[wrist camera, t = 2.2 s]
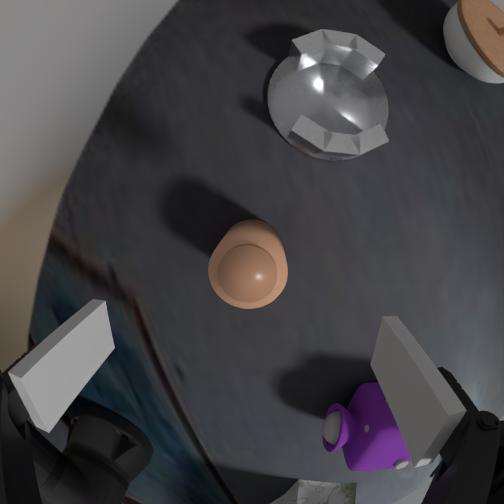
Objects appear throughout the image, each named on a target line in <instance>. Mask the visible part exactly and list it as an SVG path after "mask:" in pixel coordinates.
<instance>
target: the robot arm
mask: <svg viewBox="0 0 504 504" xmlns="http://www.w3.org/2000/svg"><path fill="white" fill-rule="evenodd" d="M114 348H115V347H114V342H113V338H112V333H111V328H110V323H109V318H108V313H107V307H106V301H103V300H95V299H93V300H92V301H90V302H89V303H88V304H87V305H85V306H84V307H83V308H82V309H80V310H79V311H78V312H77V313H75V314H74V315H73V316H72V317H71V318H69V319H68V320H67V321H66V322H65V323H63V324H62V325H61V326H60V327H59V328H57V329H56V330H55V331H54V332H53V333H51V334H50V335H49V336H48V337H47V338H46V339H44V340H43V341H42V342H39V343H37V344H35V345H33V346H32V347H31V348H30V349H29V350H28V351H27V353H24V355H22V356H21V358H19V359H17V360H16V361H15V362H14V363H13V364H12V365H11V366H10V367H9V368H8V369H6V370H5V371H4V372H3V373H1V371H0V504H122V502H123V499H124V497H125V494H126V491H127V489H128V486H129V484H130V483H131V482H132V481H133V480H134V479H135V478H136V477H137V476H138V475H139V474H140V473H141V472H142V471H143V470H144V469H145V468H146V467H147V466H148V464H149V462H150V460H151V457H152V455H153V448H152V445H151V443H150V441H149V440H148V439H147V437H146V436H145V435H144V434H143V433H142V432H141V431H140V430H139V429H138V428H136V427H135V426H134V425H133V424H131V423H130V422H128V421H127V420H125V419H124V418H122V417H120V416H119V415H117V414H115V413H113V412H110V411H108V410H105V409H102V408H99V407H94V406H84V407H81V408H79V409H78V410H77V411H76V413H75V414H74V416H73V417H72V419H71V423H70V428H69V433H68V438H67V444H66V447H65V449H64V450H63V452H62V453H61V452H60V451H59V450H58V449H57V448H56V447H55V446H54V445H52V444H51V443H50V442H49V441H48V440H47V439H46V438H45V437H44V436H43V435H42V434H41V433H40V432H39V431H38V430H37V429H36V428H35V427H34V426H33V425H32V424H31V423H30V422H29V421H28V420H27V419H28V418H29V416H30V417H31V419H32V421H33V422H34V424H35V426H36V427H38V428H40V429H42V430H44V431H46V432H49V433H50V431H51V430H52V428H53V427H54V426H55V424H56V423H57V422H58V420H59V419H60V418H61V416H62V415H63V414H64V412H65V411H66V410H67V408H68V407H69V406H70V404H71V403H72V402H73V400H74V399H75V398H76V396H77V395H78V394H79V392H80V391H81V390H82V389H83V387H84V386H85V385H86V383H87V382H88V381H89V380H90V378H91V377H92V376H93V374H94V373H95V372H96V371H97V369H98V368H99V367H100V366H101V364H102V363H103V362H104V361H105V359H106V358H107V357H108V356H109V354H110V353H111V352H112V351H113V349H114ZM370 365H371V367H372V369H373V371H374V374H375V376H376V378H377V380H378V382H379V385H380V387H381V389H382V391H383V393H384V396H385V398H386V400H387V402H388V405H389V407H390V409H391V412H392V414H393V416H394V419H395V421H396V423H397V426H398V428H399V430H400V433H401V435H402V438H403V440H404V442H405V445H406V447H407V450H408V452H409V455H410V457H411V460H412V463H413V465H414V468H415V467H419V466H422V465H426V464H430V463H432V462H433V461H434V459H435V458H436V457H437V455H438V454H439V453H440V455H441V457H442V459H443V460H442V461H441V462H440V464H439V465H438V466H437V467H436V469H435V470H434V471H433V472H432V474H431V475H430V477H433V475H434V474H435V475H434V478H433V480H432V482H431V485H430V487H429V489H428V491H427V493H426V495H425V498H424V499H423V502H422V503H421V504H504V421H499V419H498V417H496V416H495V415H494V414H493V413H490V412H488V411H478V409H477V408H476V406H475V405H474V403H473V402H472V401H471V399H470V398H469V396H468V395H467V394H466V392H465V391H464V390H463V389H462V387H461V386H460V384H459V383H457V380H456V379H455V378H454V376H453V375H452V374H451V373H450V372H449V371H447V370H446V369H444V368H443V367H439V368H437V367H436V366H435V365H434V363H433V362H432V361H431V359H430V358H429V357H428V355H427V354H426V353H425V351H424V350H423V349H422V347H421V346H420V345H419V344H418V342H417V341H416V340H415V338H414V337H413V336H412V334H411V333H410V332H409V331H408V329H407V328H406V327H405V326H404V324H403V323H402V322H401V321H400V319H399V318H398V317H397V316H382V321H381V325H380V329H379V333H378V338H377V341H376V345H375V349H374V353H373V356H372V360H371V364H370Z"/></svg>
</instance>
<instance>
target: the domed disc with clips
mask: <svg viewBox="0 0 504 504" xmlns="http://www.w3.org/2000/svg"><path fill="white" fill-rule="evenodd" d="M384 56H385V54H384V53H383V52H382V51H380V50H379V49H377V48H376V47H374V46H373V45H372V44H370V43H369V42H367V41H366V40H364V39H363V38H361V37H359V36H358V35H356V34H351V33H345V32H339V31H332V30H325V29H321V30H318V31H315V32H312V33H309V34H306V35H304V36H301V37H298V38H295V39H293V40H292V41H291V47H290V52H289V57H287V58H286V59H285V60H284V61H282V62H281V63H280V65H279V66H278V67H277V68H276V70H275V71H274V73H273V75H272V77H271V80H270V83H269V87H268V95H267V98H268V108H269V113H270V116H271V119H272V121H273V123H274V125H275V127H276V128H277V130H278V131H279V133H280V134H281V135H282V136H283V138H284V139H285V140H286V141H287V142H288V143H289V144H290V145H292V146H293V147H294V148H296V149H297V150H299V151H301V152H302V153H304V154H306V155H308V156H311V157H313V158H317V159H321V160H327V161H341V160H348V159H352V158H355V157H358V156H360V155H362V154H364V153H365V152H367V151H369V150H371V149H374V148H376V147H378V146H380V145H382V144H384V143H386V142H389V140H388V138H387V136H386V134H385V132H384V130H385V127H386V124H387V119H388V101H387V97H386V93H385V91H384V88H383V86H382V84H381V82H380V80H379V79H378V77H377V76H376V74H375V73H374V72H373V70H374V69H375V68H376V67H377V66H378V65H379V63H380V62H381V60H382V59H383V57H384Z"/></svg>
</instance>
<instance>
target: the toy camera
mask: <svg viewBox="0 0 504 504" xmlns="http://www.w3.org/2000/svg"><path fill="white" fill-rule="evenodd" d="M322 434H323V444H324V447H325V449H326V450H327V451H328V452H333V451H335V450H337V449H338V448H340V447H341V446H342V448H343V453H344V457H345V460H346V464H347V466H348V468H349V469H350V470H351V471H373V470H382V469H390V468H396V469H401V468H403V467H405V466H406V465H407V464H408V462H409V461H410V460H411V457H410V455H409V452H408V450H407V447H406V445H405V442H404V440H403V438H402V435H401V433H400V430H399V428H398V426H397V423H396V421H395V419H394V416H393V414H392V412H391V409H390V407H389V405H388V402H387V400H386V398H385V396H384V393H383V391H382V389H381V387H380V385H379V383H376V382H370V383H363V384H361V385H360V386H359V387H358V389H357V390H356V392H355V394H354V396H353V398H352V399H351V401H350V403H349V405H348V407H347V409H345V408H344V407H343V406H342V405H340V404H338V403H333V404H332V405H331V406H330V407H329V409H328V411H327V413H326V416H325V420H324V422H323V425H322Z"/></svg>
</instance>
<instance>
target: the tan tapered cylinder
mask: <svg viewBox="0 0 504 504" xmlns="http://www.w3.org/2000/svg"><path fill="white" fill-rule="evenodd" d="M208 273H209V279H210V282H211V285H212V287H213V289H214V290H215V292H216V293H217V294H218V296H219V297H220V298H222V299H223V300H224V301H225V302H227V303H229V304H231V305H233V306H236V307H239V308H245V309H253V308H259V307H262V306H265V305H267V304H269V303H271V302H272V301H273V300H275V299H276V298H277V297H278V296H279V295H280V293H281V292H282V290H283V289H284V287H285V284H286V281H287V276H288V268H287V262H286V257H285V253H284V248H283V244H282V240H281V238H280V236H279V234H278V232H277V231H276V230H275V229H274V228H273V227H272V226H271V225H269V224H268V223H266V222H264V221H261V220H256V219H248V220H243V221H240V222H238V223H236V224H235V225H233V226H232V227H231V228H230V229H229V230H228V231H227V233H226V234H225V236H224V237H223V239H222V240H221V241H220V243H219V244H218V246H217V247H216V249H215V250H214V252H213V254H212V255H211V258H210V261H209V267H208Z"/></svg>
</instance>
